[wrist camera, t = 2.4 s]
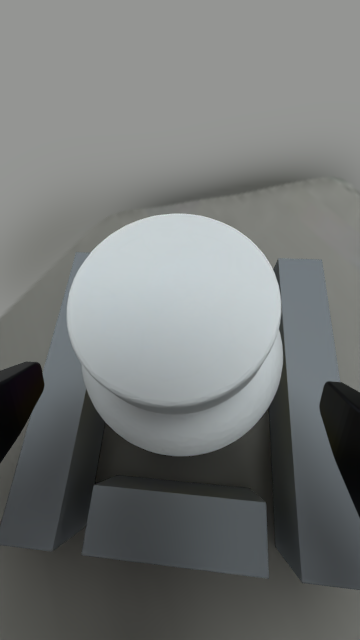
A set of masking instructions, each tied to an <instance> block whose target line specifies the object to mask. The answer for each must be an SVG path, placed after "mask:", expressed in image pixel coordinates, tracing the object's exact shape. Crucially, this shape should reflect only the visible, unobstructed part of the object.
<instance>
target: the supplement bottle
mask: <svg viewBox="0 0 360 640" xmlns="http://www.w3.org/2000/svg"><path fill="white" fill-rule="evenodd" d="M280 320H281V296H280V290H279V285H278V282H277V279H276V276H275V273H274V271H273V269H272V267H271V265H270V263H269V261H268V260H267V258H266V257H265V255H264V254H263V253H262V251H261V250H260V249H259V248H258V247H257V246H256V245H255V244H254V243H253V242H252V241H251V240H250V239H249V238H248V237H246V236H245V235H244V234H242V233H241V232H239V231H238V230H236V229H234V228H233V227H231V226H229V225H227V224H225V223H222V222H219V221H217V220H214V219H211V218H207V217H204V216H199V215H192V214H166V215H156V216H151V217H148V218H145V219H141V220H138V221H136V222H133V223H131V224H128V225H126V226H124V227H123V228H121V229H119V230H117V231H116V232H114V233H112V234H111V235H110V236H108V237H107V238H106V239H105V240H103V241H102V242H101V243H100V244H99V245H98V246H97V247H96V248H95V249H94V250H93V251H92V252H91V253H90V254H89V256H88V257H87V258H86V260H85V261H84V262H83V264H82V265H81V267H80V268H79V270H78V272H77V274H76V276H75V278H74V280H73V283H72V286H71V289H70V292H69V297H68V302H67V328H68V333H69V337H70V340H71V343H72V347H73V349H74V351H75V353H76V355H77V357H78V359H79V360H80V362H81V364H82V373H83V379H84V383H85V386H86V389H87V392H88V394H89V397H90V399H91V401H92V403H93V405H94V407H95V409H96V410H97V412H98V413H99V415H100V416H101V417H102V419H103V420H104V421H105V422H106V423H107V424H108V425H109V426H110V427H111V428H112V429H113V430H114V431H115V432H116V433H117V434H118V435H120V436H121V437H122V438H124V439H125V440H126V441H128V442H130V443H132V444H134V445H136V446H138V447H140V448H142V449H145V450H147V451H150V452H154V453H157V454H163V455H169V456H194V455H200V454H205V453H209V452H213V451H216V450H218V449H221V448H223V447H225V446H227V445H229V444H231V443H233V442H235V441H236V440H238V439H239V438H241V437H242V436H243V435H244V434H245V433H247V432H248V431H249V430H250V429H251V428H252V427H253V426H254V425H255V424H256V423H257V422H258V421H259V420H260V418H261V417H262V416H263V415H264V413H265V412H266V410H267V409H268V408H269V406H270V404H271V402H272V400H273V398H274V396H275V394H276V391H277V389H278V386H279V383H280V378H281V373H282V366H283V347H282V340H281V335H280V331H279V326H280Z"/></svg>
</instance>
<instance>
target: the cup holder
mask: <svg viewBox="0 0 360 640" xmlns="http://www.w3.org/2000/svg"><path fill="white" fill-rule="evenodd" d="M89 254H90V253H83V252H76V255H75V258H74V262H73V266H72V269H71V273H70V276H69V280H68V284H67V287H66V291H65V294H64V298H63V302H62V305H61V309H60V312H59V316H58V320H57V323H56V327H55V330H54V334H53V338H52V341H51V345H50V348H49V352H48V356H47V359H46V363H45V366H44V370H43V378H44V384H45V386H44V390H43V393H42V395H41V396H40V398H39V400H38V402H37V404H36V406H35V408H34V409H33V411H32V413H31V417H30V420H29V424H28V428H27V431H26V435H25V439H24V442H23V446H22V449H21V453H20V457H19V460H18V464H17V467H16V471H15V475H14V478H13V482H12V485H11V489H10V493H9V496H8V500H7V503H6V507H5V511H4V514H3V518H2V521H1V525H0V545H4V546H12V547H20V548H28V549H36V550H44V551H53V550H55V549H56V548H57V547H59V546H60V545H61V544H63V543H64V542H65V541H67V540H68V539H69V538H71V537H72V536H73V535H75V534H76V533H77V532H79V531H80V530H81V529H83V528H84V527H85V526H86V531H85V537H84V543H83V548H82V554H81V555H84V556H92V557H100V558H108V559H116V560H124V561H132V562H140V563H148V564H156V565H164V566H172V567H180V568H188V569H196V570H204V571H212V572H220V573H228V574H236V575H244V576H252V577H260V578H268V579H269V568H268V541H267V514H266V502H265V501H264V500H263V499H261V498H260V497H259V496H258V495H257V494H256V493H255V492H253V491H252V490H251V489H250V488H242V487H232V486H222V485H211V484H201V483H191V482H181V481H171V480H161V479H151V478H141V477H130V476H120V475H117V476H114V477H112V478H109V479H107V480H104V481H102V482H99V483H97V484H95V485H94V483H95V478H96V472H97V466H98V460H99V455H100V449H101V443H102V438H103V432H104V426H105V421H104V420H103V419H102V417H101V416H100V415H99V413H98V412H97V410H96V409H95V407H94V405H93V403H92V401H91V399H90V397H89V394H88V392H87V389H86V386H85V383H84V379H83V373H82V364H81V362H80V360H79V359H78V357H77V355H76V353H75V351H74V349H73V347H72V343H71V340H70V337H69V333H68V328H67V302H68V297H69V292H70V289H71V286H72V283H73V280H74V278H75V276H76V274H77V272H78V270H79V268H80V267H81V265H82V264H83V262H84V261H85V260H86V258H87V257H88V256H89ZM273 271H274V273H275V276H276V279H277V282H278V285H279V290H280V296H281V320H280V326H279V331H280V335H281V340H282V347H283V366H282V373H281V378H280V383H279V386H278V389H277V391H276V394H275V396H274V398H273V400H272V402H271V404H270V406H269V416H270V437H271V459H272V481H273V503H274V524H275V546H276V548H277V550H278V551H279V552H280V554H281V555H282V556H283V558H284V559H285V560H286V562H287V563H288V564H289V566H290V567H291V568H292V570H293V571H294V572H295V574H296V575H297V576H298V578H299V579H300V580H301V582H302V583H308V584H316V585H324V586H332V587H340V588H348V589H356V590H360V518H359V516H358V513H357V511H356V509H355V506H354V504H353V502H352V499H351V497H350V495H349V492H348V490H347V488H346V485H345V483H344V481H343V478H342V476H341V474H340V471H339V469H338V466H337V464H336V461H335V459H334V456H333V453H332V450H331V447H330V443H329V440H328V437H327V434H326V430H325V427H324V424H323V420H322V417H321V414H320V409H319V404H320V399H321V395H322V391H323V387H324V384H325V383H326V382H327V381H333V382H340V378H339V371H338V365H337V358H336V351H335V344H334V338H333V331H332V324H331V317H330V311H329V304H328V297H327V290H326V284H325V277H324V270H323V264H322V260H317V259H283V258H278V260H277V263H276V265H275V267H274V269H273Z"/></svg>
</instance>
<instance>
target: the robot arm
mask: <svg viewBox="0 0 360 640" xmlns="http://www.w3.org/2000/svg"><path fill="white" fill-rule="evenodd" d="M44 386H45V384H44V378H43V373H42V368H41V365H40V364H39V363H38V362H24V363H21V364H18V365H15V366H12V367H10V368H7V369H4V370H1V371H0V463H1V461H2V460H3V458H4V457H5V455H6V454H7V453H8V451H9V450H10V448H11V447H12V445H13V444H14V442H15V441H16V439H17V438H18V436H19V434H20V433H21V431H22V429H23V428H24V426H25V424H26V422H27V421H28V419H29V417H30V415H31V413H32V411H33V409H34V408H35V406H36V404H37V402H38V400H39V398H40V396H41V395H42V393H43V390H44ZM319 409H320V414H321V417H322V420H323V424H324V427H325V430H326V434H327V437H328V440H329V443H330V447H331V450H332V453H333V456H334V459H335V461H336V464H337V466H338V469H339V471H340V474H341V476H342V478H343V481H344V483H345V485H346V488H347V490H348V492H349V495H350V497H351V499H352V502H353V504H354V506H355V509H356V511H357V513H358V516H359V518H360V392H358V391H356V390H354V389H353V388H351V387H349V386H347V385H345V384H344V383H342V382H333V381H327V382H326V383H325V384H324V387H323V391H322V395H321V399H320V404H319Z"/></svg>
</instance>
